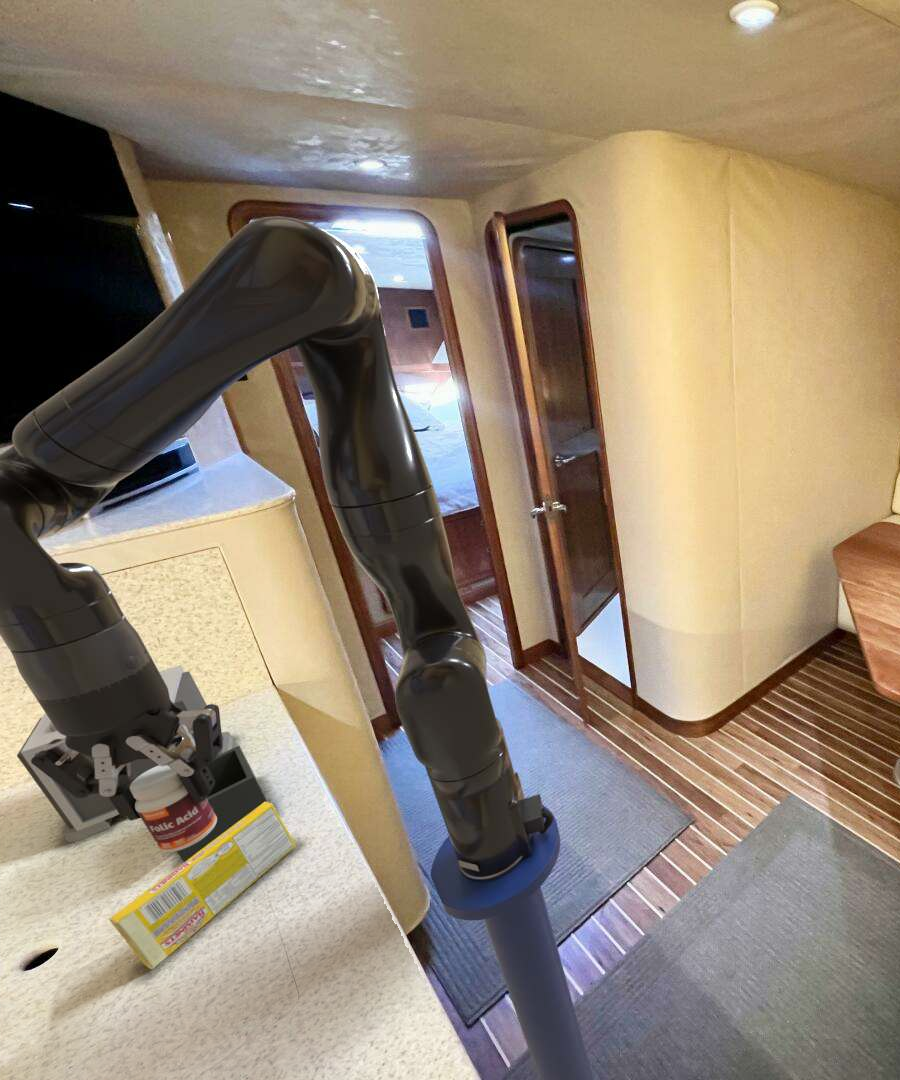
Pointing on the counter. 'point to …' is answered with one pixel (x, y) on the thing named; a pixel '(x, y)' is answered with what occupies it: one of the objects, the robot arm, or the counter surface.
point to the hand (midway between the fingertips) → (172, 804)
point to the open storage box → (229, 796)
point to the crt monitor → (93, 809)
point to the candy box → (203, 885)
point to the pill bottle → (171, 809)
